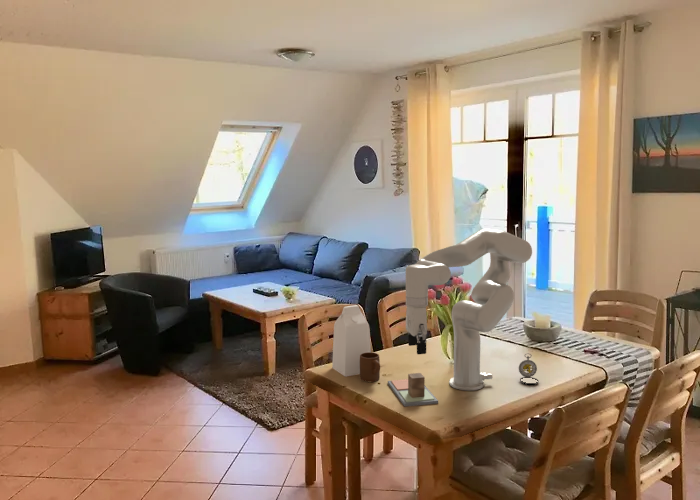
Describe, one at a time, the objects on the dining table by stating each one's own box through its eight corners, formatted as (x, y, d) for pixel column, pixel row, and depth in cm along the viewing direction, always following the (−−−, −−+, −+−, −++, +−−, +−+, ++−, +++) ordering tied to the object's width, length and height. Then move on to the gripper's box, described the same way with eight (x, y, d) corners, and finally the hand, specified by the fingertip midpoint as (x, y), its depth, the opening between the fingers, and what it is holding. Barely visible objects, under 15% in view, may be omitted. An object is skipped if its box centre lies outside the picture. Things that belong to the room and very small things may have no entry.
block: (420, 391, 208) (420, 372, 207) (424, 396, 204) (424, 377, 203) (408, 393, 208) (408, 373, 207) (411, 397, 203) (412, 378, 202)
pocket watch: (529, 387, 215) (529, 360, 214) (512, 379, 223) (513, 354, 221) (545, 383, 219) (546, 357, 218) (529, 376, 227) (529, 350, 225)
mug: (388, 384, 220) (388, 360, 218) (369, 387, 217) (369, 363, 215) (374, 374, 231) (374, 351, 229) (356, 377, 228) (356, 353, 226)
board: (418, 380, 223) (418, 377, 223) (438, 403, 202) (438, 399, 202) (387, 383, 221) (387, 379, 221) (404, 406, 199) (404, 402, 199)
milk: (358, 363, 244) (357, 301, 240) (372, 371, 234) (371, 307, 230) (332, 367, 239) (331, 305, 235) (345, 376, 229) (344, 311, 225)
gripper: (399, 296, 209) (399, 343, 211) (413, 307, 192) (414, 358, 194) (419, 294, 210) (419, 341, 213) (435, 306, 193) (435, 356, 196)
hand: (417, 349), depth 204 cm, fingers open, 9 cm apart
